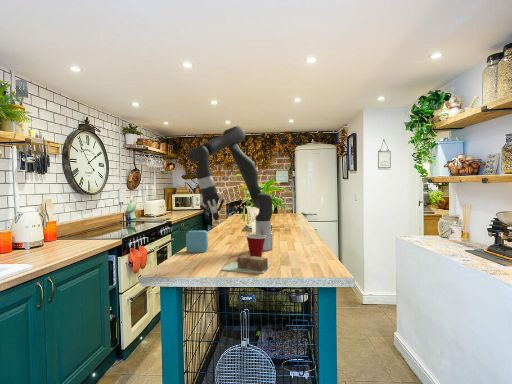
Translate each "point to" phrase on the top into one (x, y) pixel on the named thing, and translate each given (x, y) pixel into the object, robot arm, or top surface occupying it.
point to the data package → (197, 241)
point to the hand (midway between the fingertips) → (217, 220)
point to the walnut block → (253, 263)
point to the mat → (234, 267)
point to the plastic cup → (255, 244)
